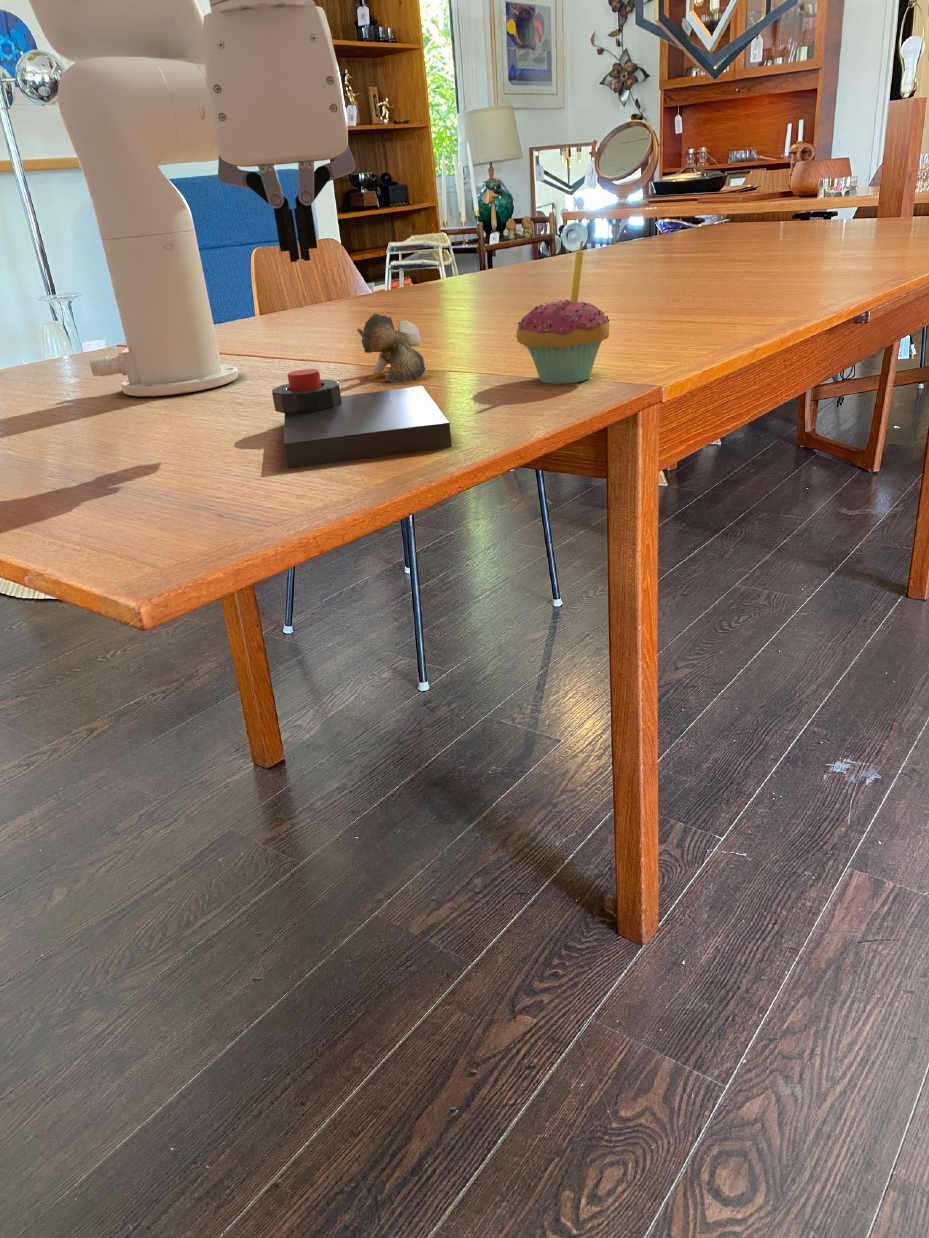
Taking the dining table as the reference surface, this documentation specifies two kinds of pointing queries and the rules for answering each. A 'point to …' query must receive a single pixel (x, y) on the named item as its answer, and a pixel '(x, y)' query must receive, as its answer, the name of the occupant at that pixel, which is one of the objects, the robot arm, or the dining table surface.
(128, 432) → the dining table surface
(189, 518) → the dining table surface
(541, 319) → the cupcake
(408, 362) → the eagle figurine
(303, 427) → the dark grey flat block
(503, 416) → the dining table surface
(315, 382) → the button
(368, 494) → the dining table surface
